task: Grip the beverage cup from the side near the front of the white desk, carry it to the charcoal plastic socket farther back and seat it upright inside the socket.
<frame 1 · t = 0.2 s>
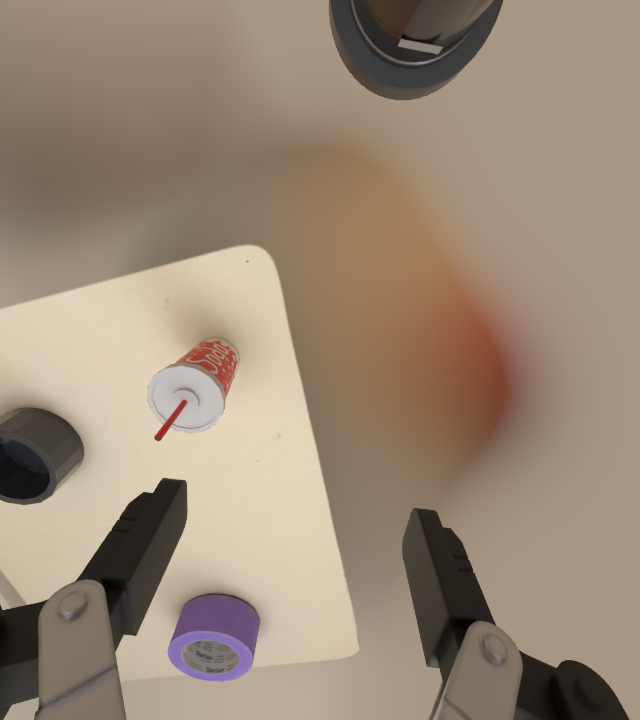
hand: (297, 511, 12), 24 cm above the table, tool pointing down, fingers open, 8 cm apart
socket: (41, 443, 40), on the table
beverage cup: (217, 357, 36), on the table
tape roll: (220, 617, 53), on the table
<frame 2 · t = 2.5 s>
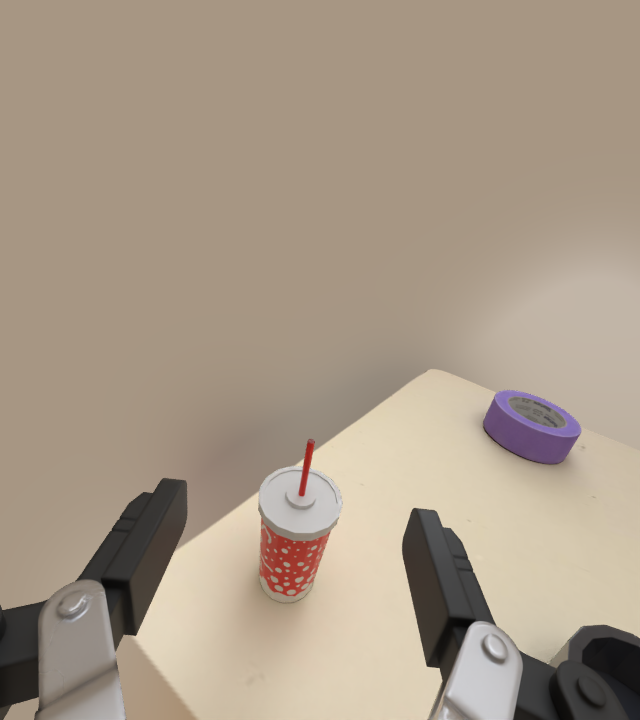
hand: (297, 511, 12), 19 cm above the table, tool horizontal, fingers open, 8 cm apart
beverage cup: (286, 575, 29), on the table
tape roll: (522, 438, 54), on the table
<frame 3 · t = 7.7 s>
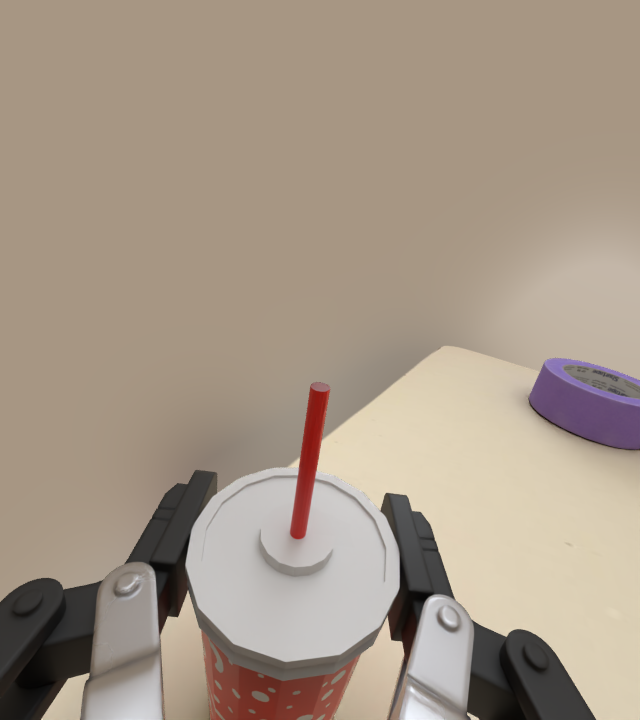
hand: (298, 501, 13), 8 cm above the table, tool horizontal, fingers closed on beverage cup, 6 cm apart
beverage cup: (271, 703, 14), on the table, touching gripper
tape roll: (583, 419, 40), on the table
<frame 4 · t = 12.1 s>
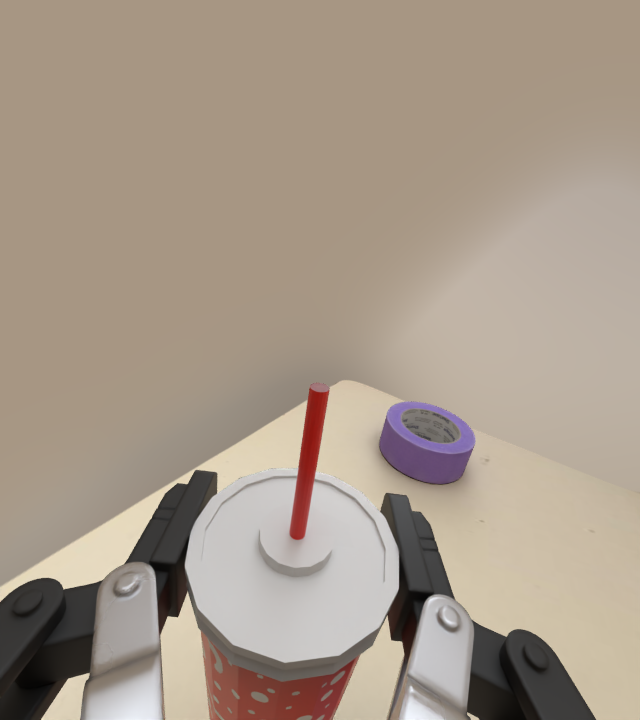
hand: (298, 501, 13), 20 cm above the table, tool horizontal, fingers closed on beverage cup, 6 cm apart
beverage cup: (271, 703, 14), point 12 cm above the table, touching gripper
tape roll: (420, 454, 49), on the table
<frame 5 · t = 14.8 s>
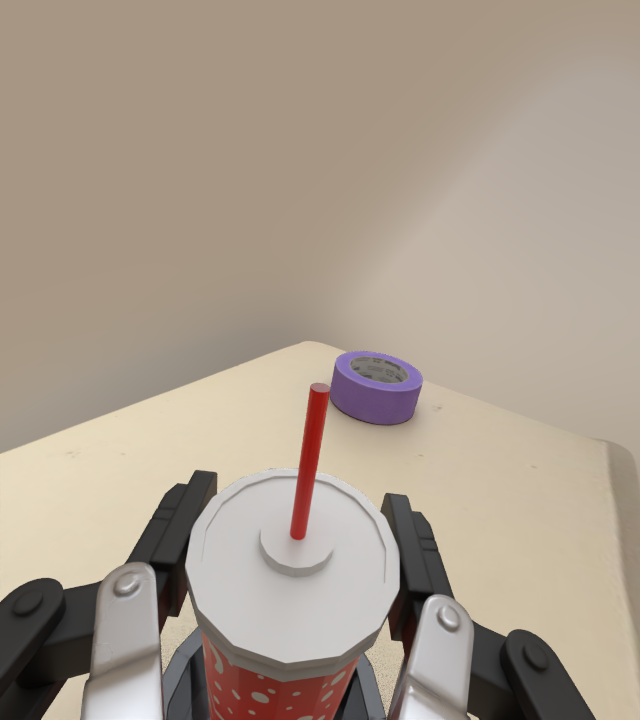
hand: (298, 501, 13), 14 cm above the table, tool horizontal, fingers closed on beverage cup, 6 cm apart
beverage cup: (271, 703, 14), point 5 cm above the table, touching gripper
tape roll: (371, 401, 48), on the table
when the fingers open (9 cm above the table, at t = 16.8 s): beverage cup stays where it is, resting on socket.
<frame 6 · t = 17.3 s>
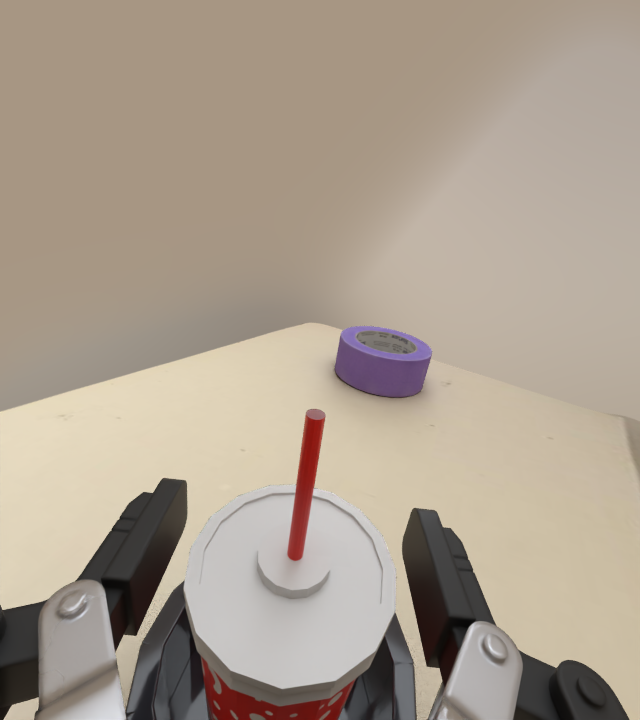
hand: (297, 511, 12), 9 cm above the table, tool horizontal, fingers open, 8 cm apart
socket: (271, 718, 14), on the table
beverage cup: (271, 717, 14), resting on socket
tape roll: (377, 377, 47), on the table
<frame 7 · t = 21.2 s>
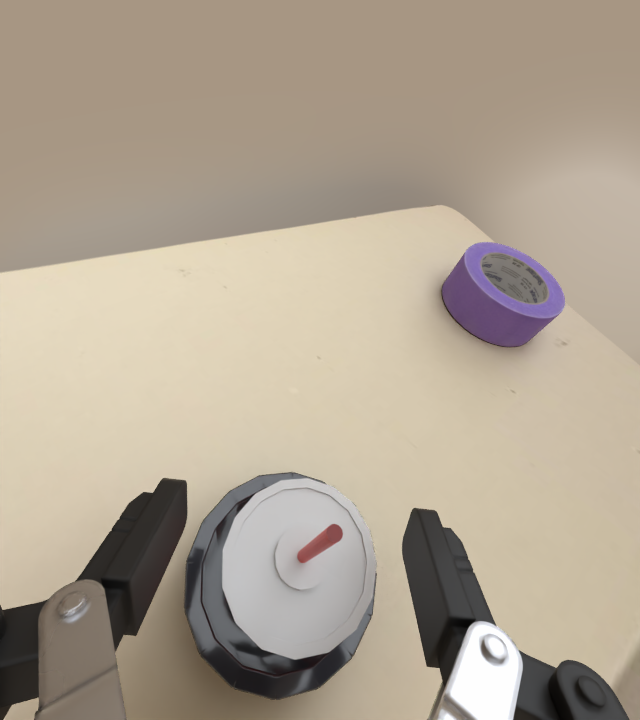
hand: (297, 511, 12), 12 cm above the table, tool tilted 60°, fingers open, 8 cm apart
socket: (275, 575, 21), on the table
beverage cup: (274, 576, 21), resting on socket
tape roll: (486, 309, 42), on the table
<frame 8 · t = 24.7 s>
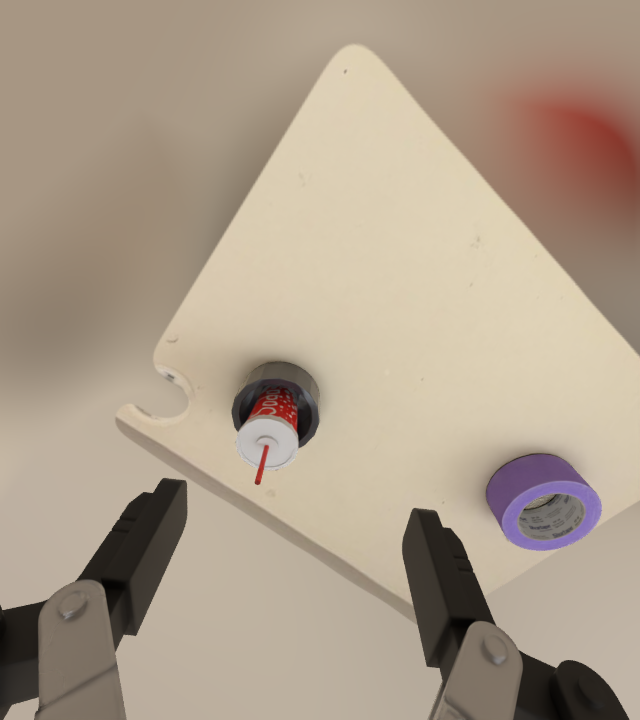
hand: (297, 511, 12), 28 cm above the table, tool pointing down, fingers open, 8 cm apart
socket: (280, 397, 43), on the table
beverage cup: (279, 398, 42), resting on socket
tape roll: (529, 487, 48), on the table
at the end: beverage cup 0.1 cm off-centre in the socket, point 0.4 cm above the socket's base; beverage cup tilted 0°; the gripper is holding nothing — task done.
